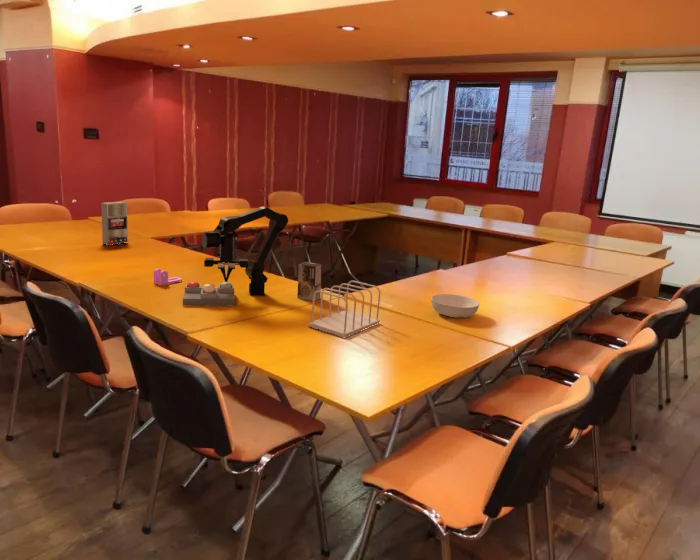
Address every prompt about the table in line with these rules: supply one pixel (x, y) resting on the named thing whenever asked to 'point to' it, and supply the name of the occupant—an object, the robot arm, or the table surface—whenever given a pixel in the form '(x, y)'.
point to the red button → (193, 284)
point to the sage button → (225, 285)
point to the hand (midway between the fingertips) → (226, 281)
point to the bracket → (164, 277)
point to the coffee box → (309, 280)
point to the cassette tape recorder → (114, 222)
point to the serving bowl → (454, 305)
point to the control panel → (209, 296)
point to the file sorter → (344, 314)
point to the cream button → (209, 288)
